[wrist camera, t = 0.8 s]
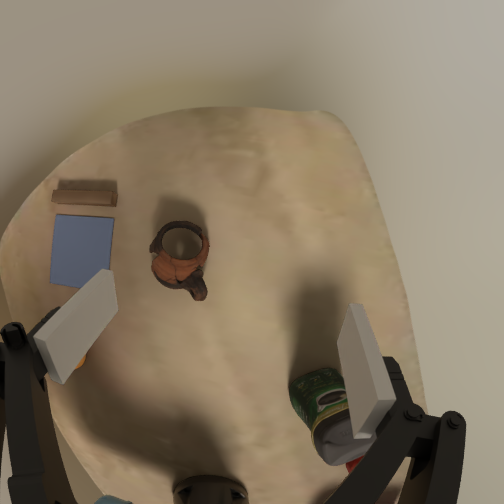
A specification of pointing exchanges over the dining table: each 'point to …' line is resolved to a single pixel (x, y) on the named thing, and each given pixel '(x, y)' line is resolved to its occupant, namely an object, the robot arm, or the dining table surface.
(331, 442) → the coffee jar
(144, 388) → the dining table surface
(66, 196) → the stopper strip
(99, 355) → the dining table surface
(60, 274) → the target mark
